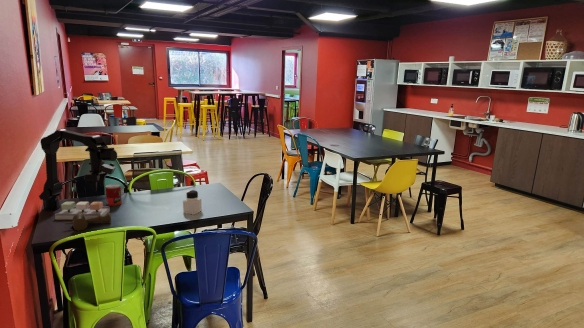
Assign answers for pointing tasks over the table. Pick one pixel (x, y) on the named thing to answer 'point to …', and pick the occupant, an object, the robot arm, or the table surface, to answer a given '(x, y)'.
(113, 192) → the canned food
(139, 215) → the table surface
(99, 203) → the key terracotta
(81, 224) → the kendama
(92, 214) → the keypad base
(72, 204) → the key sage
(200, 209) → the medicine bottle
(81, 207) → the key white
